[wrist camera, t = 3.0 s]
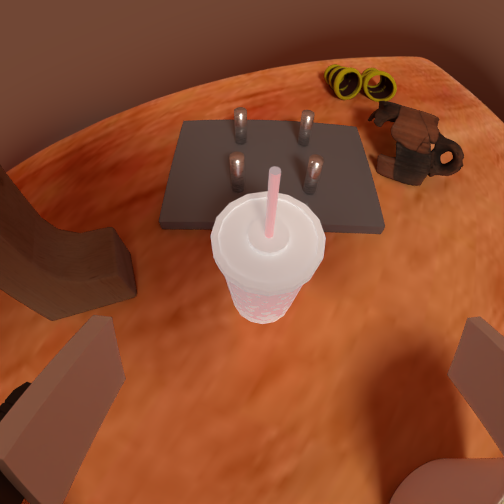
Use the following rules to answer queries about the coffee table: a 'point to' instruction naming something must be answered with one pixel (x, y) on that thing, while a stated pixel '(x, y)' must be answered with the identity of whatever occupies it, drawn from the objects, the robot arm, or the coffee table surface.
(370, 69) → the opera glasses
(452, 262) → the coffee table surface
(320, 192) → the cup stand
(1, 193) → the wooden block
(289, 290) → the beverage cup
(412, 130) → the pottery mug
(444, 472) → the candle holder
